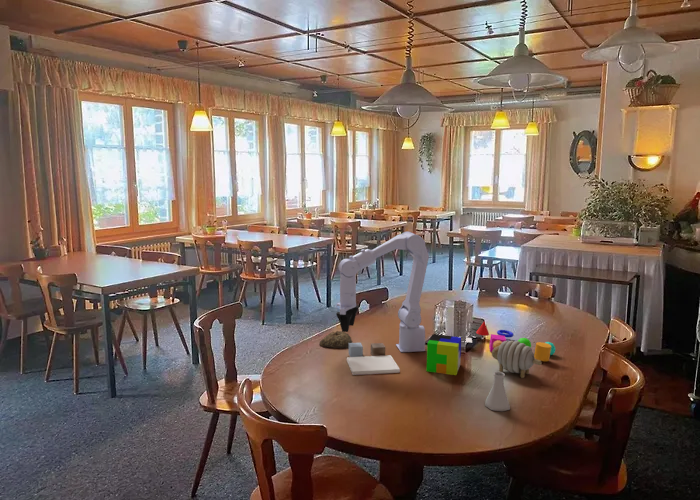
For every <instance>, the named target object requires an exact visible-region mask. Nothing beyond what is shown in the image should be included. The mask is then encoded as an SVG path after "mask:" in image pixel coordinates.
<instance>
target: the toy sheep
mask: <svg viewBox="0 0 700 500" xmlns="http://www.w3.org/2000/svg"><path fill="white" fill-rule="evenodd" d="M491 356H492V358H493V359H495V360H497V362H498V364H499V367H498V369H499V370H498V372H502V373H504V369H505V370H506V371H507V370H508V372H510V373H511V374H512V373H515V374H520V378H521V379H524V378H525V376H526V375H529V374H530V369H531V368H532V367H533V366H534V365H537V366H541V365H542V363H543V361H540V360H537V359H535V357H534V352H533V350H532V347H531V348H530V347H529V346H526V345H525V344H524V343H520V342H519V341H518V340H515V341H514V340H508V341H507V340H506V341H504V342H502V343H501V345H499V346H497V347H495V348H494V349H493V351H492V352H491Z"/></svg>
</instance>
